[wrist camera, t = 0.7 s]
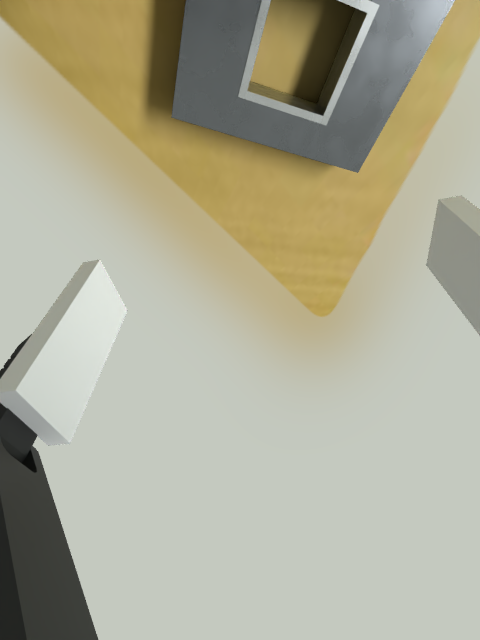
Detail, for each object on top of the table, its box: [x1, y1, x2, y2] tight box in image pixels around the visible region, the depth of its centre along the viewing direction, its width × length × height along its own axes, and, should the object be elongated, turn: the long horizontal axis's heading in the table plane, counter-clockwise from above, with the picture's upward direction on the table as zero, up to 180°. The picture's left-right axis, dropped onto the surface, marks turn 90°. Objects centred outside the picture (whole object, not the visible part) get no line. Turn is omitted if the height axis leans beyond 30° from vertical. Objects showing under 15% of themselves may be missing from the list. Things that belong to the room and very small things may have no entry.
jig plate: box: [172, 0, 455, 173], centre depth 26 cm, size 14×18×3 cm
